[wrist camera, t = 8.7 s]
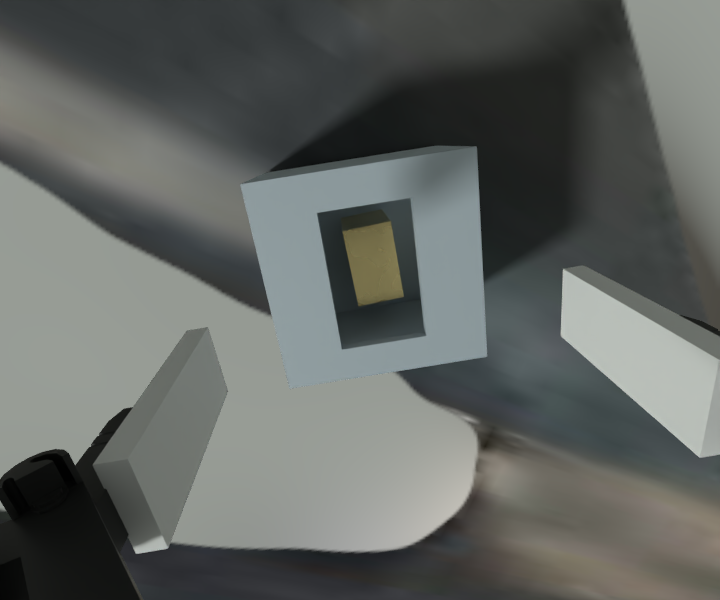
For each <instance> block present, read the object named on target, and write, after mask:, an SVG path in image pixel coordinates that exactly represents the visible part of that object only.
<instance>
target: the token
mask: <svg viewBox="0 0 720 600" xmlns="http://www.w3.org/2000/svg"><path fill="white" fill-rule="evenodd" d="M341 224H342V232H343V237H344V241H345V246H346V251H347V255H348V260H349V264H350V269H351V274H352V278H353V283H354V287H355V292H356V297H357V301H358V306H363V305H368V304H373V303H377V302H382V301H387V300H392V299H396V298H401V297H404V294H403V288H402V283H401V277H400V271H399V266H398V260H397V254H396V248H395V243H394V237H393V231H392V225H391V221H390V219H389V218H388V217H387V216H386V214H385V213H384V212H383V210H382V209H380V210H376V211H371V212H366V213H361V214H357V215H352V216H347V217H343V218H341Z"/></svg>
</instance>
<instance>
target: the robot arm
mask: <svg viewBox="0 0 720 600" xmlns="http://www.w3.org/2000/svg"><path fill="white" fill-rule="evenodd" d="M561 337H563V338H564V339H565V340H566V341H567V342H568V343H569V344H571V345H572V346H573V347H574V348H575V349H576V350H577V351H579V352H580V353H581V354H582V355H583V356H584V357H585V358H587V359H588V360H589V361H590V362H591V363H592V364H593V365H595V366H596V367H597V368H598V369H599V370H600V371H601V372H603V373H604V374H605V375H606V376H607V377H608V378H609V379H611V380H612V381H613V382H614V383H615V384H616V385H617V386H619V387H620V388H621V389H622V390H623V391H624V392H625V393H627V394H628V395H629V396H630V397H631V398H632V399H633V400H634V401H636V402H637V403H638V404H639V405H640V406H641V407H642V408H644V409H645V410H646V411H647V412H648V413H649V414H650V415H652V416H653V417H654V418H655V419H656V420H657V421H658V422H660V423H661V424H662V425H663V426H664V427H665V428H666V429H668V430H669V431H670V432H671V433H672V434H673V435H674V436H676V437H677V438H678V439H679V440H680V441H681V442H682V443H684V444H685V445H686V446H687V447H688V448H689V449H690V450H692V451H693V452H694V453H695V454H696V455H697V456H698V457H700V458H701V457H707V456H713V455H719V454H720V331H718V329H716V328H714V327H712V326H710V325H708V324H706V323H704V322H702V321H700V320H696V319H693V318H689V317H686V316H682V315H678V314H676V313H674V312H672V311H670V310H668V309H666V308H664V307H662V306H660V305H658V304H656V303H655V302H653V301H651V300H649V299H647V298H645V297H643V296H641V295H639V294H637V293H635V292H634V291H632V290H630V289H628V288H626V287H624V286H622V285H620V284H618V283H616V282H614V281H612V280H611V279H609V278H607V277H605V276H603V275H601V274H599V273H597V272H595V271H593V270H591V269H590V268H588V267H586V266H578V267H572V268H566V269H563V287H562V316H561ZM227 392H228V390H227V386H226V383H225V380H224V377H223V374H222V371H221V367H220V365H219V361H218V358H217V355H216V351H215V348H214V345H213V342H212V339H211V336H210V332H209V329H208V327H206V328H200V329H195V330H188V331H186V333H185V334H184V336H183V337H182V338H181V340H180V341H179V343H178V344H177V345H176V347H175V348H174V350H173V351H172V352H171V354H170V356H169V357H168V358H167V360H166V361H165V362H164V364H163V365H162V367H161V368H160V370H159V371H158V372H157V374H156V375H155V377H154V378H153V380H152V381H151V382H150V384H149V385H148V387H147V388H146V389H145V391H144V392H143V394H142V395H141V397H140V398H139V400H138V401H137V402H136V404H135V405H134V407H132V408H126V409H123V410H122V411H121V412H119V413H118V414H117V415H116V416H115V417H113V418H112V419H111V420H109V421H108V423H107V424H106V426H105V427H104V428H103V429H102V431H101V432H100V433H99V436H97V437H96V439H95V440H94V441H93V443H92V444H91V447H89V448H88V449H87V451H86V452H85V453H84V455H83V456H82V457H81V459H80V460H79V461H78V463H77V464H76V465H74V463H73V461H72V459H71V457H70V455H69V453H67V452H66V451H65V450H59V449H58V450H57V449H54V450H49V451H45V452H42V453H39V454H37V455H34V456H32V457H29V458H27V459H26V460H24V461H22V462H21V463H19V464H17V465H15V466H14V467H13V468H12V469H10V470H9V471H8V472H7V473H5V474H4V475H3V476H2V478H1V479H0V501H1V503H2V504H3V506H4V507H5V509H6V511H7V512H8V514H9V515H10V517H11V519H12V520H10V521H7V522H4V523H2V524H0V600H143V598H142V596H141V594H140V592H139V590H138V588H137V586H136V584H135V582H134V580H133V578H132V576H131V574H130V572H129V570H128V568H127V566H126V564H125V562H124V560H123V558H122V556H121V554H120V551H121V549H122V547H123V545H124V543H125V541H126V539H127V537H128V538H129V540H130V542H131V544H132V546H133V548H134V550H135V552H136V554H138V553H144V552H150V551H156V550H162V549H167V548H168V547H169V545H170V542H171V540H172V536H173V534H174V532H175V529H176V526H177V524H178V521H179V518H180V516H181V513H182V511H183V508H184V505H185V503H186V500H187V498H188V495H189V492H190V490H191V487H192V484H193V482H194V479H195V476H196V474H197V471H198V469H199V466H200V463H201V461H202V458H203V455H204V453H205V450H206V448H207V445H208V442H209V440H210V437H211V434H212V432H213V429H214V427H215V424H216V421H217V418H218V416H219V414H220V411H221V408H222V406H223V403H224V400H225V398H226V395H227Z"/></svg>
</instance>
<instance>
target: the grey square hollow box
mask: <svg viewBox="0 0 720 600" xmlns="http://www.w3.org/2000/svg"><path fill="white" fill-rule="evenodd" d="M240 185H241V189H242V193H243V198H244V202H245V206H246V210H247V214H248V218H249V222H250V227H251V231H252V235H253V239H254V243H255V247H256V252H257V256H258V260H259V264H260V268H261V272H262V276H263V281H264V285H265V289H266V293H267V297H268V301H269V305H270V310H271V314H272V318H273V322H274V326H275V330H276V334H277V338H278V343H279V347H280V351H281V355H282V359H283V364H284V368H285V372H286V376H287V380H288V384H289V388H297V387H303V386H309V385H315V384H322V383H328V382H334V381H340V380H346V379H352V378H358V377H364V376H370V375H377V374H383V373H389V372H395V371H401V370H408V369H414V368H420V367H426V366H432V365H438V364H444V363H450V362H457V361H463V360H469V359H475V358H481V357H487V345H486V325H485V304H484V284H483V263H482V243H481V222H480V202H479V181H478V161H477V146H430V147H424V148H418V149H411V150H405V151H399V152H392V153H386V154H380V155H374V156H367V157H361V158H355V159H349V160H342V161H336V162H330V163H324V164H317V165H311V166H305V167H299V168H292V169H286V170H280V171H273V172H267V173H264V174H262V175H260V176H258V177H255V178H253V179H251V180H249V181H246V182H244V183H242V184H240ZM380 209H382V210H383V212H384V213H385V214H386V216H387V217H388V218H389V219H390V221H391V225H392V231H393V237H394V243H395V248H396V254H397V260H398V266H399V271H400V277H401V283H402V288H403V294H404V297H401V298H396V299H392V300H387V301H382V302H377V303H373V304H368V305H363V306H358V301H357V297H356V292H355V287H354V283H353V278H352V274H351V269H350V264H349V260H348V255H347V251H346V246H345V241H344V237H343V232H342V224H341V218H343V217H347V216H352V215H357V214H361V213H366V212H371V211H376V210H380Z"/></svg>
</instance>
